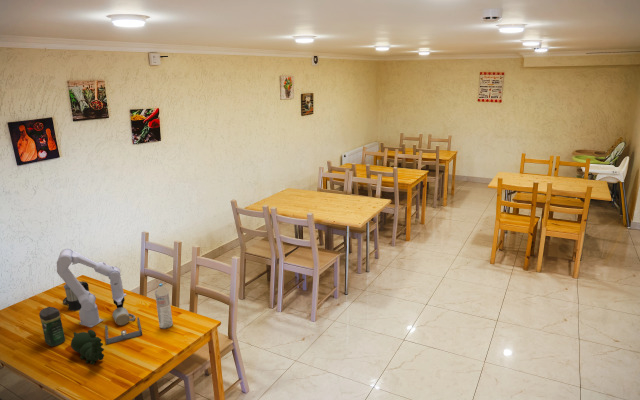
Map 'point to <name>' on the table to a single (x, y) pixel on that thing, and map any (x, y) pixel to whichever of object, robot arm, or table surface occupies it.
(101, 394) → the table surface
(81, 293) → the robot arm
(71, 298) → the milk frother
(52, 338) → the coffee jar
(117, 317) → the ceramic mug
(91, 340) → the toy figurine
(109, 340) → the coupler cradle
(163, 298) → the water bottle
